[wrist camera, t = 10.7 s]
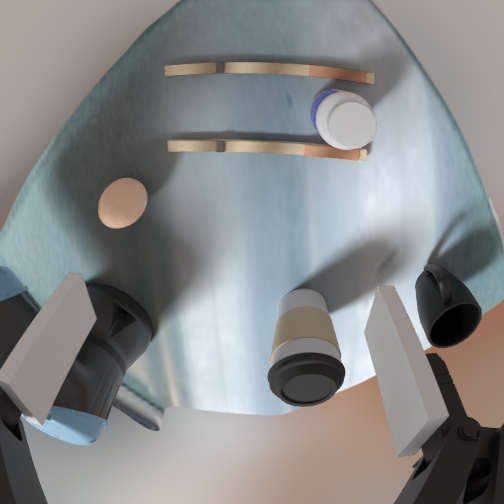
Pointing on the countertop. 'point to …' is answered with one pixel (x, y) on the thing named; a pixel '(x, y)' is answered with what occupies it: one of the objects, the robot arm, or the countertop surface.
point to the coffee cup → (305, 351)
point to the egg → (122, 203)
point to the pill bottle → (342, 119)
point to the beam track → (268, 145)
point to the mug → (445, 307)
